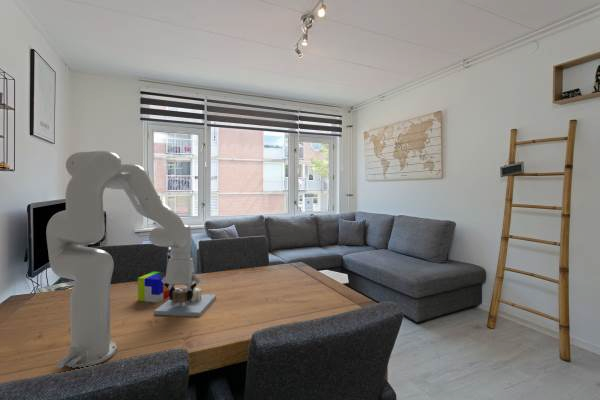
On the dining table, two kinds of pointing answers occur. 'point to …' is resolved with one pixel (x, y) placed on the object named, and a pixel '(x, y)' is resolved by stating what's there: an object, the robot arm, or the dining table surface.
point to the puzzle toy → (152, 287)
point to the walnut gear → (179, 295)
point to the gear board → (187, 305)
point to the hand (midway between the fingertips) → (181, 298)
